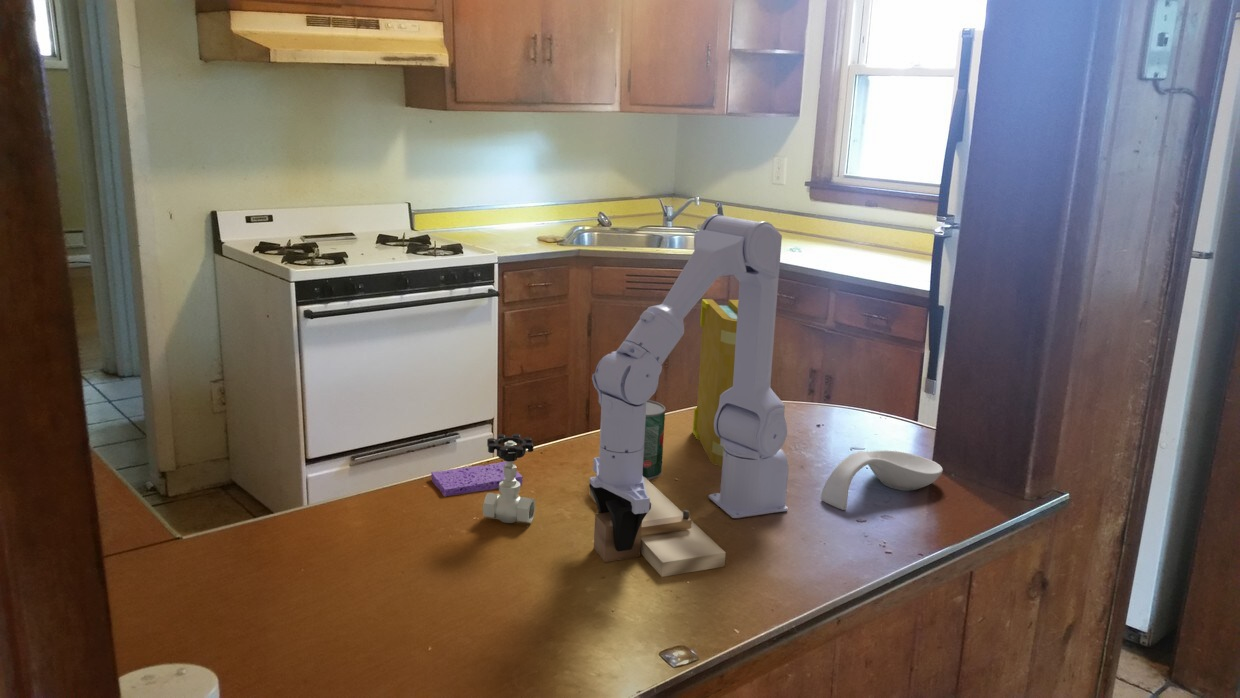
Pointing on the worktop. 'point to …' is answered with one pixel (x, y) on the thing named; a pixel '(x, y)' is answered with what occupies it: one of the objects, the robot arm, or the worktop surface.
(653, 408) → the canned tomato
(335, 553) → the worktop surface
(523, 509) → the valve
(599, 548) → the mallet
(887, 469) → the spoon rest
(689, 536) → the board
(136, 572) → the worktop surface
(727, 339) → the book
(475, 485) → the sponges
